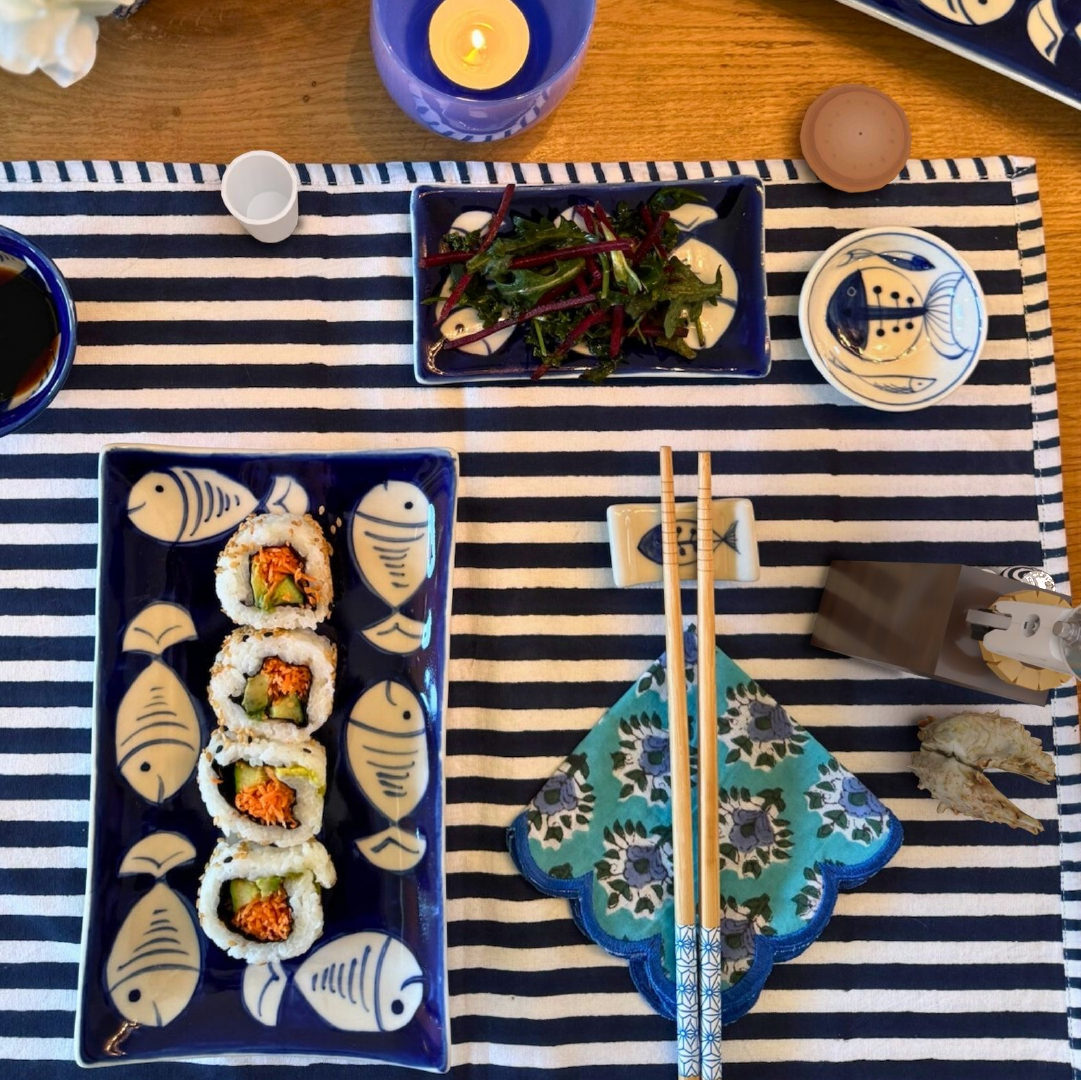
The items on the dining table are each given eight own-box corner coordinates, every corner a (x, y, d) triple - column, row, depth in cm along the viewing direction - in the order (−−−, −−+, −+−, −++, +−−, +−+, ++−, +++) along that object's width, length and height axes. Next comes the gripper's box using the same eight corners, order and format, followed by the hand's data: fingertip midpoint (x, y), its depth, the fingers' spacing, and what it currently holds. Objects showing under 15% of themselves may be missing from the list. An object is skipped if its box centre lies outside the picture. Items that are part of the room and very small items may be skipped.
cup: (222, 215, 147) (204, 184, 134) (274, 169, 148) (261, 134, 135) (269, 266, 147) (256, 240, 134) (321, 220, 147) (313, 190, 134)
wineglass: (994, 613, 144) (1047, 619, 132) (957, 593, 144) (1006, 597, 132) (1013, 577, 144) (1068, 580, 132) (976, 556, 144) (1027, 557, 132)
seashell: (1072, 865, 123) (1114, 749, 126) (933, 788, 124) (979, 676, 128) (985, 847, 140) (1025, 746, 144) (865, 780, 142) (907, 682, 145)
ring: (1084, 606, 106) (1097, 607, 104) (1061, 698, 105) (1073, 701, 103) (992, 579, 106) (1003, 579, 104) (968, 670, 105) (979, 673, 103)
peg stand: (915, 584, 144) (1103, 599, 105) (893, 669, 143) (1075, 715, 104) (831, 560, 144) (988, 565, 105) (809, 644, 143) (959, 680, 104)
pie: (884, 213, 148) (901, 202, 143) (779, 183, 148) (791, 170, 143) (911, 112, 149) (929, 96, 144) (806, 82, 149) (820, 66, 144)
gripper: (1009, 661, 87) (905, 641, 105) (1198, 717, 87) (1060, 687, 105) (1031, 574, 87) (923, 570, 106) (1218, 629, 87) (1078, 615, 105)
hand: (992, 628), depth 105 cm, fingers closed on ring, 2 cm apart
